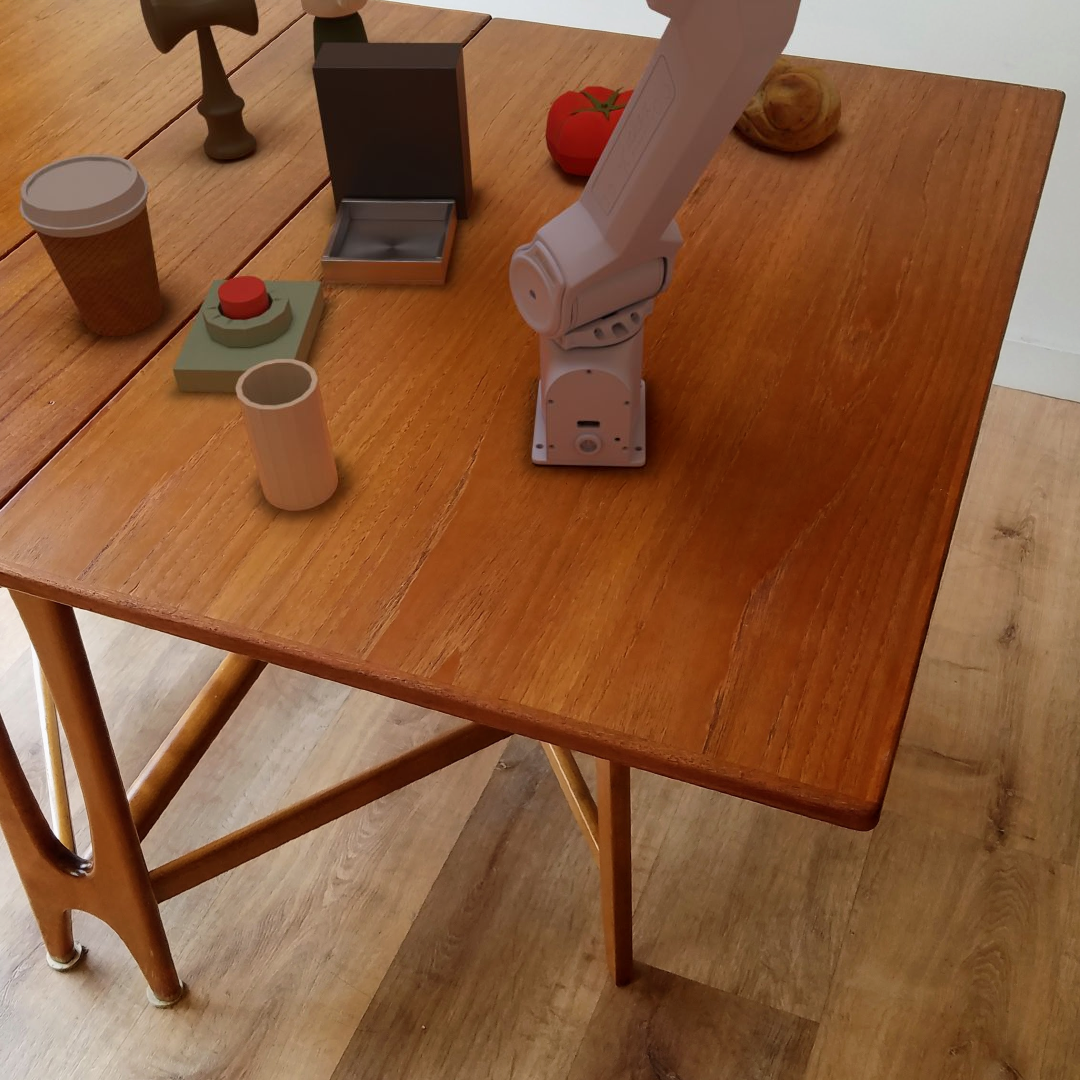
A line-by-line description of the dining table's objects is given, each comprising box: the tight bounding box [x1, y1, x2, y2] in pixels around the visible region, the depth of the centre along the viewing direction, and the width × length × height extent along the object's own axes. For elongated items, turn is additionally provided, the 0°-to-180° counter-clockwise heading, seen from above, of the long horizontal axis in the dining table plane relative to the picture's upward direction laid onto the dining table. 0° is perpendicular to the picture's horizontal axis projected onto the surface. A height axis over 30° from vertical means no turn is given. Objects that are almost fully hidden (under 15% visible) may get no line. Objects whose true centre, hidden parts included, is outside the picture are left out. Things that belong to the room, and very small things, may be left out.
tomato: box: [544, 85, 635, 177], centre depth 109 cm, size 10×11×6 cm
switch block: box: [172, 279, 326, 394], centre depth 91 cm, size 12×9×4 cm
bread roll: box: [734, 55, 842, 153], centre depth 112 cm, size 13×10×8 cm
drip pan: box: [320, 198, 458, 286], centre depth 100 cm, size 10×10×2 cm
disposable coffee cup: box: [19, 153, 164, 337], centre depth 91 cm, size 10×10×12 cm
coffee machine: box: [311, 42, 474, 221], centre depth 102 cm, size 5×12×14 cm, turn 87°
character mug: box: [300, 0, 370, 61], centre depth 123 cm, size 11×7×13 cm, turn 23°
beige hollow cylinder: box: [235, 359, 339, 512], centre depth 77 cm, size 5×5×9 cm
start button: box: [218, 275, 269, 320], centre depth 89 cm, size 4×4×2 cm
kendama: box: [139, 0, 260, 160], centre depth 108 cm, size 6×10×20 cm, turn 120°
